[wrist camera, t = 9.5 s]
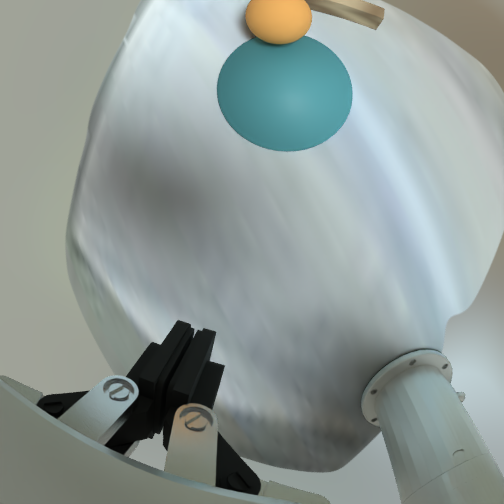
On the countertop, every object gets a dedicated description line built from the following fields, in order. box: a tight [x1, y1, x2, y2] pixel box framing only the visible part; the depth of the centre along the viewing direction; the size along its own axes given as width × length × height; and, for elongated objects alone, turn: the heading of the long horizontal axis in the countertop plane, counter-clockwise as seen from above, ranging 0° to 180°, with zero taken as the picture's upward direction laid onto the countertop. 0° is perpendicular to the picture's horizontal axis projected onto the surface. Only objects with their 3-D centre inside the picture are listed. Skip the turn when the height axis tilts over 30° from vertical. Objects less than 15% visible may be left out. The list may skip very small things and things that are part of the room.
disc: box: [217, 36, 352, 151], centre depth 22 cm, size 12×12×1 cm
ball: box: [245, 0, 312, 44], centre depth 17 cm, size 6×6×6 cm
